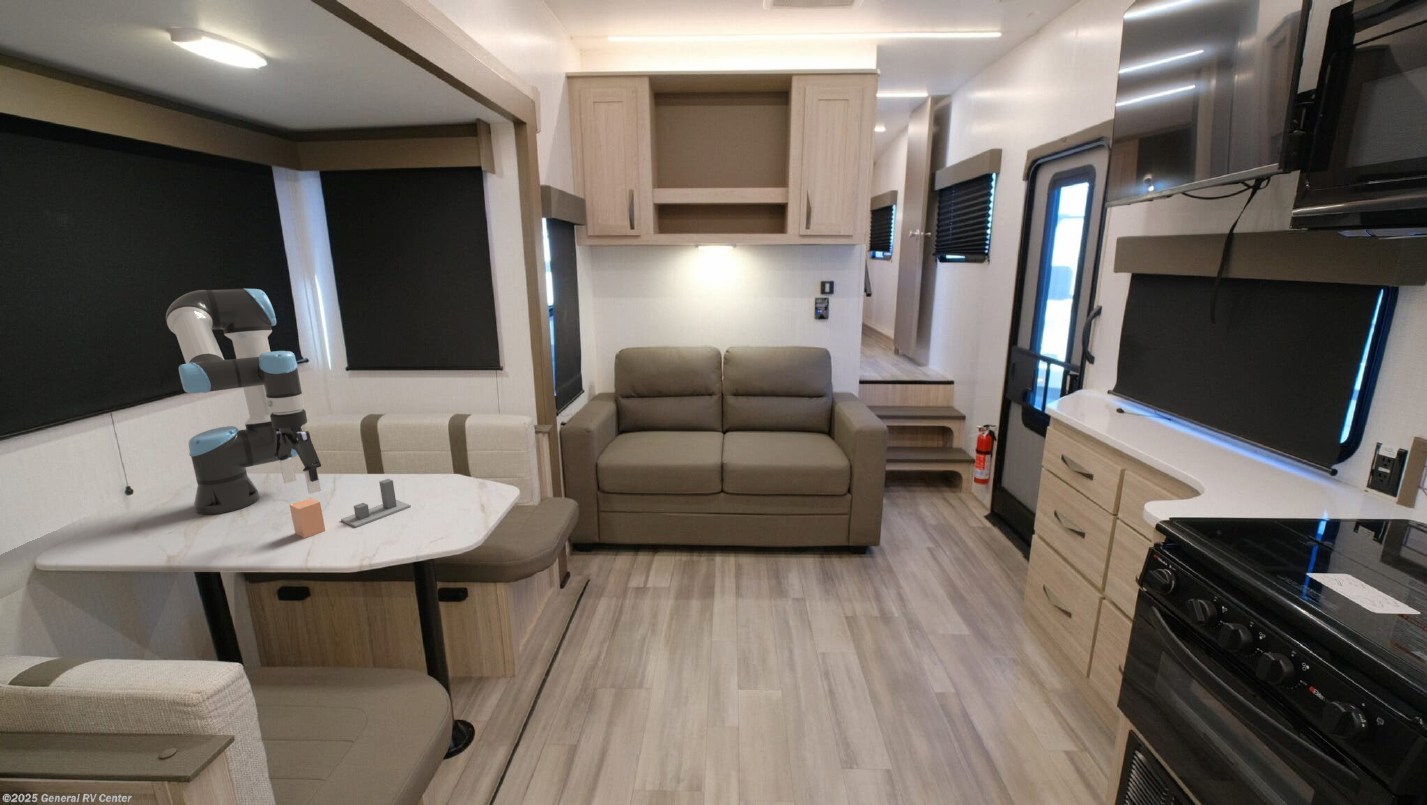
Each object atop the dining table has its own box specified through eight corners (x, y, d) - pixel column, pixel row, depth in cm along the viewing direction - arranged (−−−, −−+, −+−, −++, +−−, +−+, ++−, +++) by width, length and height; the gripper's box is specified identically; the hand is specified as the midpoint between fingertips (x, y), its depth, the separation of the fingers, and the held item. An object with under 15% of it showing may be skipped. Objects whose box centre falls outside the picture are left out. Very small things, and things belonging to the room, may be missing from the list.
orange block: (295, 533, 156) (289, 504, 154) (316, 526, 160) (310, 497, 158) (304, 538, 153) (298, 509, 151) (325, 530, 158) (320, 502, 156)
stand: (341, 520, 164) (336, 491, 161) (395, 501, 177) (391, 474, 174) (356, 527, 159) (351, 498, 157) (410, 506, 173) (406, 479, 170)
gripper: (249, 407, 151) (264, 482, 157) (294, 421, 139) (309, 501, 144) (281, 401, 158) (295, 473, 163) (327, 414, 145) (341, 491, 150)
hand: (302, 486), depth 154 cm, fingers open, 13 cm apart
